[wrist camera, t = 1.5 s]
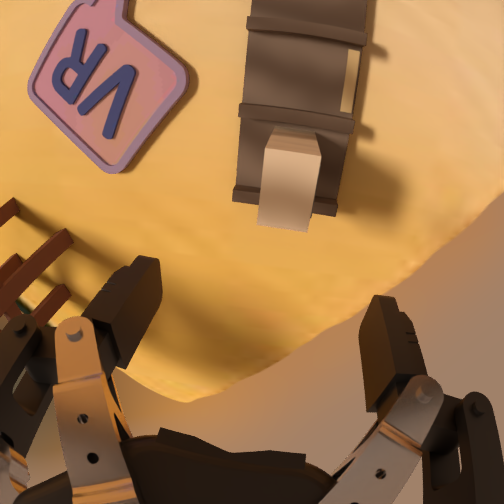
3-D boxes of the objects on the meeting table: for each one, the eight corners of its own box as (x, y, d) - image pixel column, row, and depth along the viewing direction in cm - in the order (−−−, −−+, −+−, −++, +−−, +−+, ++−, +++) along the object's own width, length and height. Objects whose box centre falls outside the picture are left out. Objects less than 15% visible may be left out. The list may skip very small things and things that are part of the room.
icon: (233, 39, 22) (114, 181, 31) (236, 41, 23) (120, 177, 33) (108, -45, 16) (23, 91, 26) (115, -42, 18) (30, 89, 27)
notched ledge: (259, -49, 17) (255, -58, 15) (367, -34, 16) (372, -42, 14) (236, 191, 31) (232, 201, 29) (333, 206, 31) (335, 216, 28)
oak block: (275, 126, 26) (265, 147, 19) (316, 132, 26) (323, 156, 18) (268, 182, 29) (256, 224, 22) (307, 187, 29) (309, 232, 21)
